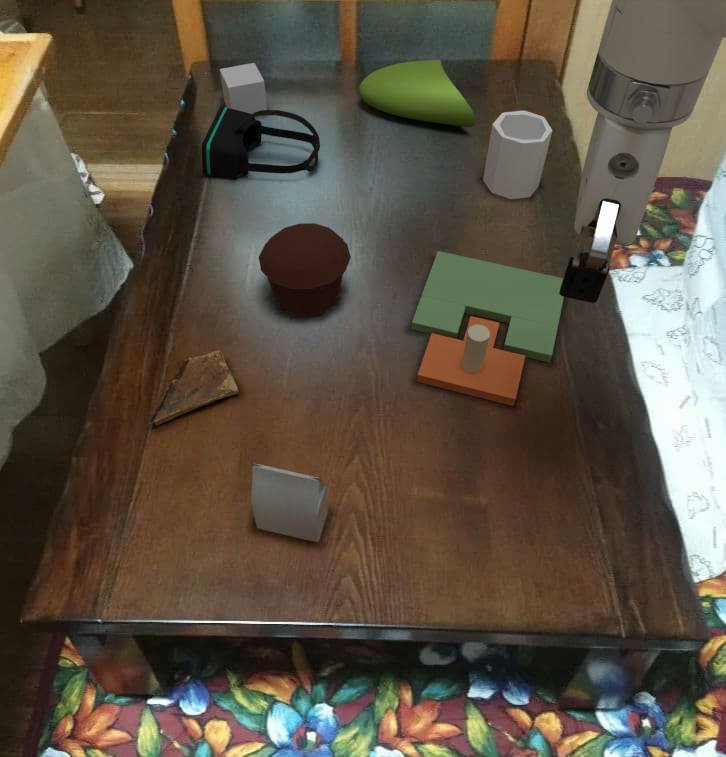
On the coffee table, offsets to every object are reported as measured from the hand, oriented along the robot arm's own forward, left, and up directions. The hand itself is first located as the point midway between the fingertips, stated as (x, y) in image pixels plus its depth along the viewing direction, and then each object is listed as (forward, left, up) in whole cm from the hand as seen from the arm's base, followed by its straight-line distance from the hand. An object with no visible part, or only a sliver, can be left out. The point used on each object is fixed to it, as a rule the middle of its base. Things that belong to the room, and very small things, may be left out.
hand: (584, 259), depth 65 cm
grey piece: (+22, +20, -26) cm, 40 cm away
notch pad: (+8, -17, -26) cm, 32 cm away
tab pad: (+8, -8, -26) cm, 29 cm away
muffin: (+32, -12, -26) cm, 43 cm away
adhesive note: (+57, -50, -26) cm, 80 cm away
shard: (+38, +8, -26) cm, 47 cm away
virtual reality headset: (+48, -37, -26) cm, 66 cm away
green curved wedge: (+29, -58, -26) cm, 70 cm away
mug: (+10, -46, -26) cm, 54 cm away
